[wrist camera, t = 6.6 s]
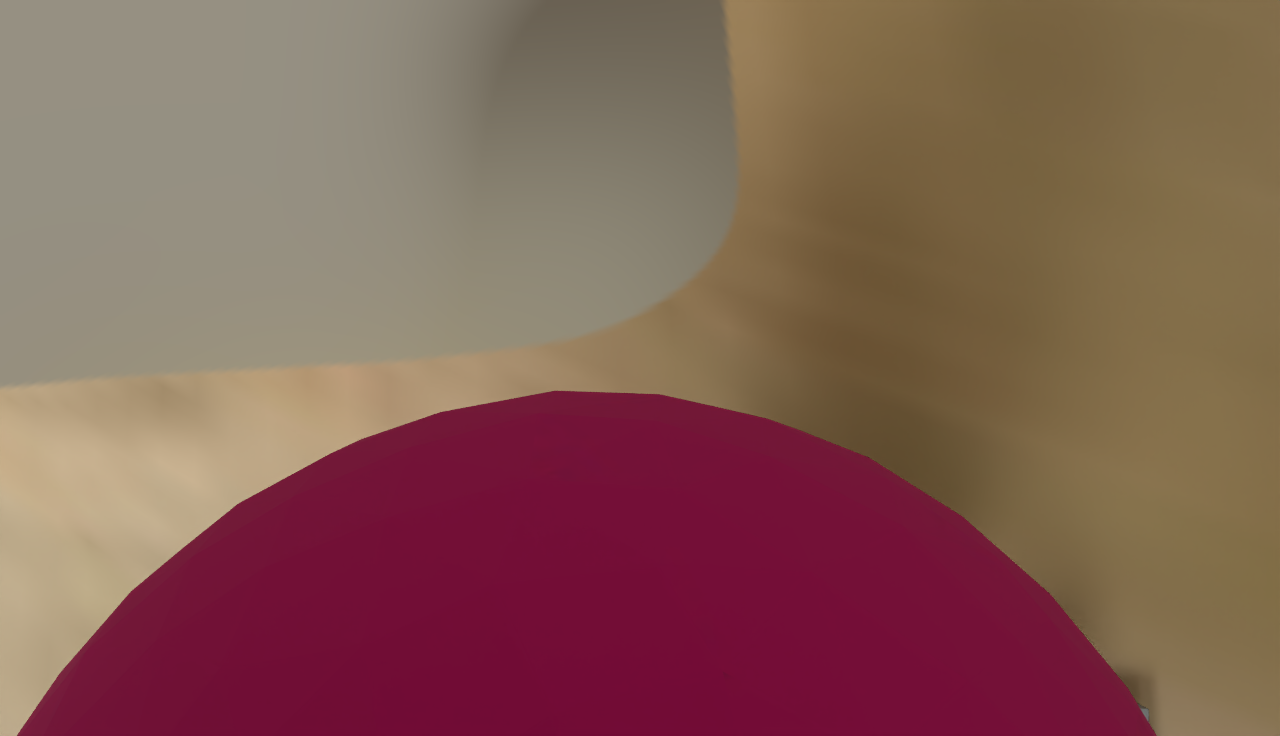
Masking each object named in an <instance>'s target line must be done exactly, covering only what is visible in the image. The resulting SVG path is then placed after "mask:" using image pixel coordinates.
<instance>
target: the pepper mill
mask: <svg viewBox="0 0 1280 736" xmlns="http://www.w3.org/2000/svg"><path fill="white" fill-rule="evenodd" d="M17 736H1157V735H1156V734H1155V732H1154V731H1153V729H1152V727H1151V726H1150V724H1149V722H1148V721H1147V719H1146V717H1145V716H1144V714H1143V712H1142V711H1141V709H1140V708H1139V706H1138V704H1137V703H1136V701H1135V699H1134V698H1133V696H1132V694H1131V693H1130V691H1129V689H1128V688H1127V687H1126V686H1125V684H1124V683H1123V682H1122V681H1121V679H1120V678H1119V677H1118V676H1117V675H1116V673H1115V672H1114V671H1113V670H1112V669H1111V667H1110V666H1109V665H1108V664H1107V662H1106V661H1105V660H1104V659H1103V658H1102V656H1101V655H1100V654H1099V653H1098V652H1097V650H1096V649H1095V648H1094V647H1093V645H1092V644H1091V643H1090V642H1089V641H1088V639H1087V638H1086V637H1085V636H1084V635H1083V633H1082V632H1081V631H1080V630H1079V629H1078V627H1077V626H1076V625H1075V624H1074V622H1073V621H1072V620H1071V619H1070V618H1069V616H1068V615H1067V614H1066V613H1065V612H1064V610H1063V609H1062V608H1061V607H1060V605H1059V604H1058V603H1057V602H1056V601H1055V599H1054V598H1053V597H1052V596H1051V595H1050V594H1049V593H1048V592H1047V591H1046V590H1045V589H1044V588H1043V587H1041V586H1040V585H1039V584H1038V583H1037V582H1036V581H1035V580H1034V579H1032V578H1031V577H1030V576H1029V575H1028V574H1027V573H1026V572H1024V571H1023V570H1022V569H1021V568H1020V567H1019V566H1018V565H1017V564H1015V563H1014V562H1013V561H1012V560H1011V559H1010V558H1009V557H1008V556H1006V555H1005V554H1004V553H1003V552H1002V551H1001V550H1000V549H998V548H997V547H996V546H995V545H994V544H993V543H992V542H991V541H989V540H988V539H987V538H986V537H985V536H984V535H983V534H982V533H980V532H979V531H978V530H977V529H976V528H975V527H974V526H972V525H971V524H970V523H969V522H968V521H967V520H966V519H965V518H963V517H962V516H961V515H959V514H957V513H956V512H954V511H953V510H951V509H950V508H948V507H946V506H945V505H943V504H942V503H940V502H938V501H937V500H935V499H934V498H932V497H931V496H929V495H927V494H926V493H924V492H923V491H921V490H919V489H918V488H916V487H915V486H913V485H912V484H910V483H908V482H907V481H905V480H904V479H902V478H900V477H899V476H897V475H896V474H894V473H893V472H891V471H889V470H888V469H886V468H885V467H883V466H881V465H880V464H878V463H877V462H875V461H874V460H872V459H870V458H869V457H866V456H863V455H861V454H858V453H856V452H853V451H851V450H848V449H846V448H843V447H841V446H838V445H836V444H833V443H831V442H828V441H826V440H823V439H820V438H818V437H815V436H813V435H810V434H808V433H805V432H803V431H800V430H798V429H795V428H792V427H789V426H786V425H783V424H781V423H778V422H775V421H772V420H769V419H766V418H762V417H758V416H753V415H749V414H745V413H740V412H736V411H732V410H727V409H723V408H718V407H714V406H710V405H705V404H701V403H696V402H692V401H687V400H683V399H678V398H674V397H669V396H665V395H660V394H635V393H605V392H575V391H551V392H546V393H541V394H535V395H530V396H525V397H519V398H514V399H509V400H503V401H498V402H493V403H487V404H482V405H477V406H471V407H466V408H461V409H455V410H450V411H444V412H440V413H437V414H434V415H431V416H428V417H425V418H422V419H419V420H416V421H413V422H411V423H408V424H405V425H402V426H399V427H396V428H393V429H390V430H387V431H384V432H381V433H378V434H375V435H372V436H370V437H367V438H364V439H361V440H359V441H357V442H354V443H352V444H350V445H348V446H346V447H344V448H342V449H340V450H337V451H335V452H333V453H331V454H329V455H327V456H325V457H323V458H322V459H320V460H318V461H316V462H314V463H312V464H311V465H309V466H307V467H305V468H303V469H301V470H300V471H298V472H296V473H294V474H292V475H290V476H288V477H287V478H285V479H283V480H281V481H279V482H277V483H276V484H274V485H272V486H270V487H268V488H266V489H265V490H263V491H261V492H259V493H257V494H255V495H253V496H252V497H250V498H248V499H246V500H244V501H242V502H241V503H239V504H237V505H236V506H235V507H234V508H232V509H231V510H230V511H229V512H227V513H226V514H225V515H224V516H222V517H221V518H220V519H219V520H217V521H216V522H215V523H214V524H212V525H211V526H210V527H209V528H207V529H206V530H205V531H204V532H202V533H201V534H200V535H199V536H198V537H196V538H195V539H194V540H193V541H191V542H190V543H189V544H188V545H186V546H185V547H184V548H183V549H181V550H180V551H179V552H178V553H177V554H175V555H174V556H173V557H172V558H171V559H169V560H168V561H167V562H166V563H165V564H163V565H162V566H161V567H160V568H159V569H157V570H156V571H155V572H154V573H153V574H151V575H150V576H149V577H148V578H147V579H145V580H144V581H143V582H142V583H141V584H140V585H138V586H137V587H136V588H135V589H134V590H132V591H131V592H130V593H129V594H128V596H127V597H126V598H125V599H124V600H123V601H122V603H121V604H120V605H119V606H118V607H117V608H116V609H115V611H114V612H113V613H112V614H111V615H110V616H109V617H108V619H107V620H106V621H105V622H104V623H103V624H102V626H101V627H100V628H99V629H98V630H97V631H96V632H95V634H94V635H93V636H92V637H91V638H90V639H89V641H88V642H87V643H86V644H85V645H84V646H83V647H82V649H81V650H80V651H79V652H78V653H77V654H76V655H75V657H74V658H73V659H72V660H71V661H70V662H69V664H68V665H67V666H66V667H65V668H64V669H63V670H62V672H61V673H60V674H59V675H58V677H57V678H56V680H55V681H54V683H53V684H52V686H51V687H50V688H49V690H48V691H47V693H46V694H45V696H44V697H43V699H42V700H41V701H40V703H39V704H38V706H37V707H36V709H35V710H34V712H33V713H32V714H31V716H30V717H29V719H28V720H27V722H26V723H25V725H24V726H23V727H22V729H21V730H20V732H19V733H18V735H17Z"/></svg>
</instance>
